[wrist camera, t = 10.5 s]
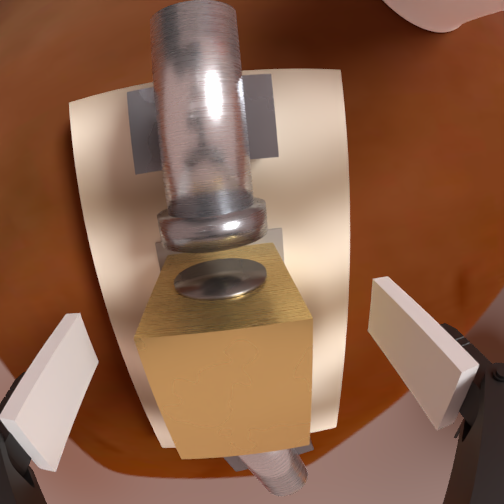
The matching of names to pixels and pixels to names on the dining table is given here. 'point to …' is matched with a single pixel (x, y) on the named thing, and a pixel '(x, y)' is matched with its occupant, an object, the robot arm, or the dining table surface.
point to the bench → (279, 232)
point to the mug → (443, 12)
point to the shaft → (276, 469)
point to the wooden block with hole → (229, 353)
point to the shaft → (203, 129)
